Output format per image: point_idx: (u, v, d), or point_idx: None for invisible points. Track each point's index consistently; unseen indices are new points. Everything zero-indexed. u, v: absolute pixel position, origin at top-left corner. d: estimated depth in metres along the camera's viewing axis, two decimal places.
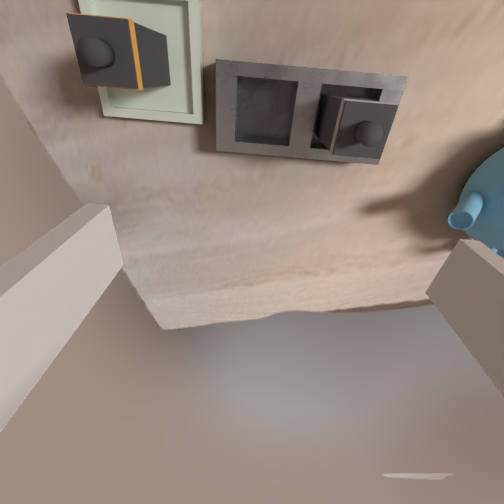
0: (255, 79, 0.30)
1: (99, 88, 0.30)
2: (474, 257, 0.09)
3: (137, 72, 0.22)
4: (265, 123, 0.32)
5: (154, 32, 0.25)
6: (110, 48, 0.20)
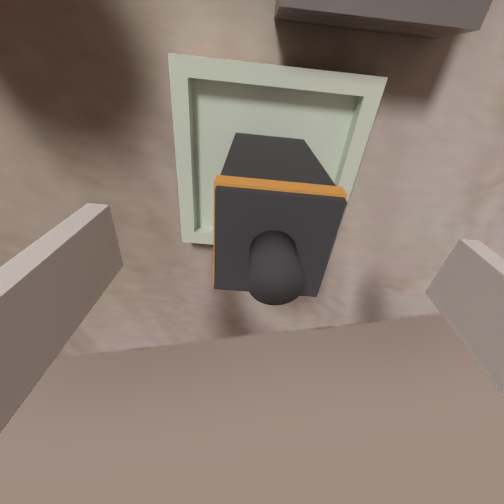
0: None
1: None
2: (474, 257, 0.09)
3: (311, 191, 0.09)
4: None
5: (233, 146, 0.14)
6: (266, 237, 0.09)
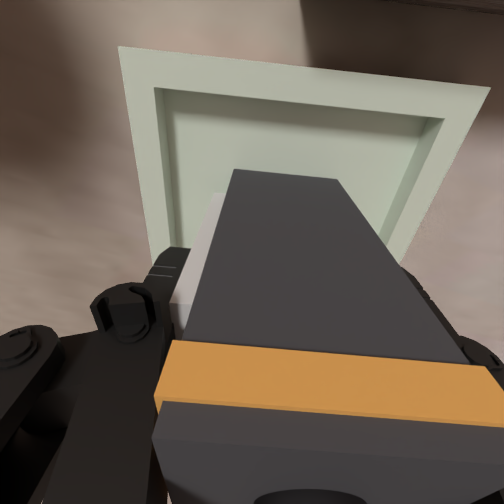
0: None
1: None
2: None
3: (429, 414, 0.03)
4: None
5: (227, 205, 0.08)
6: None
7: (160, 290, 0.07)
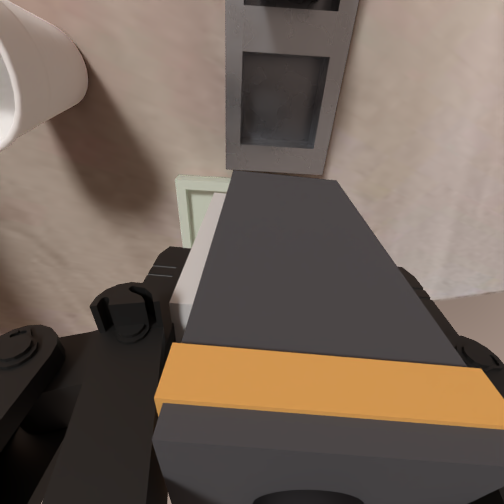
0: (244, 115, 0.24)
1: None
2: None
3: (426, 416, 0.03)
4: (294, 99, 0.23)
5: (227, 207, 0.08)
6: None
7: (160, 290, 0.07)
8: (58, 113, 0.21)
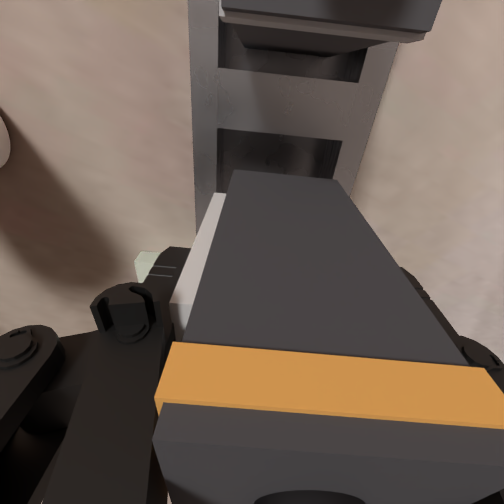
0: (224, 192, 0.18)
1: None
2: None
3: (429, 416, 0.03)
4: None
5: (227, 206, 0.08)
6: None
7: (160, 290, 0.07)
8: None
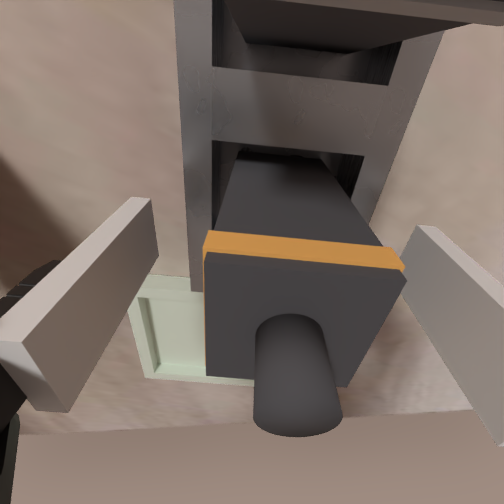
0: None
1: (239, 384, 0.25)
2: (427, 241, 0.10)
3: (351, 260, 0.06)
4: None
5: (235, 173, 0.11)
6: (281, 327, 0.06)
7: None
8: None
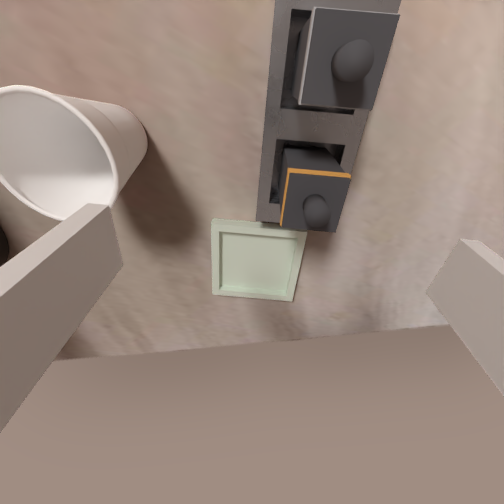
0: (272, 177, 0.29)
1: (273, 298, 0.39)
2: (474, 257, 0.09)
3: (334, 174, 0.19)
4: None
5: (287, 153, 0.24)
6: (312, 196, 0.19)
7: None
8: None
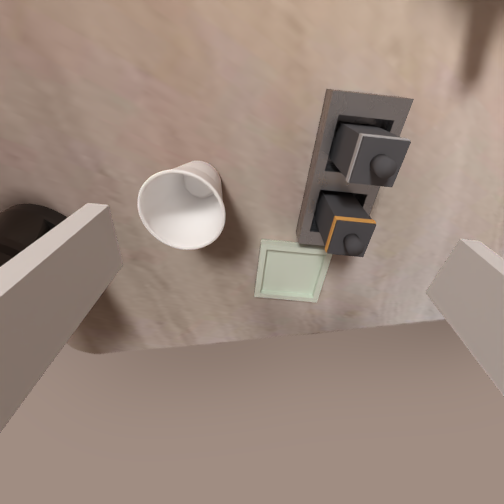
0: None
1: (302, 300, 0.49)
2: (474, 257, 0.09)
3: (365, 221, 0.30)
4: None
5: (327, 199, 0.35)
6: (351, 235, 0.30)
7: None
8: None
